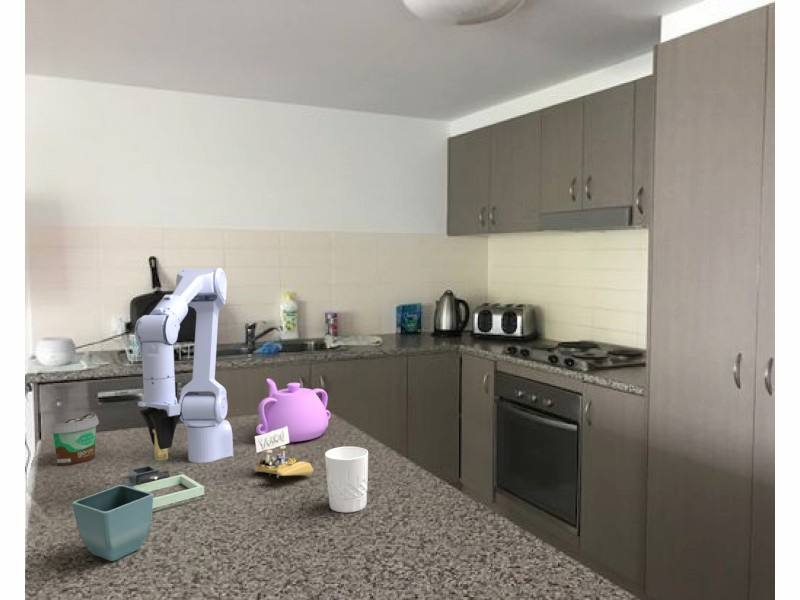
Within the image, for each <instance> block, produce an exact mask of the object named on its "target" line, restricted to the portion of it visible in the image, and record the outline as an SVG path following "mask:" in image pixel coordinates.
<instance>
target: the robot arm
mask: <svg viewBox="0 0 800 600" xmlns="http://www.w3.org/2000/svg"><path fill="white" fill-rule="evenodd" d="M226 277H227V276H226V273H225V271H224V270H223V269H222V268H221V267H216V268H189V269H187V268H181V269H180V270H178V272H177V274H176V280H175V282H176V283H175V284H176V287H175V289H174V290H173V293H171V294H165V295H164V296H163V297H162V299H160V301H159V302H158V303H157V304H156V306H155V307H154V308H153V310H152V311H151V312H150V313H149V314H145V315H142V316H141V317H139V318H138V319H137V321H136V322H135V323H136V324H135V327H134V337H135V340H136V343H137V346H138V353H139V354H140V355H141V361H142V362H141V364H142V382H143V383H142V384H143V385H142V386H143V394H142V395H141V400H140V401H137V406H138V407H142V408H143V407H147V408H145V409H141V410H140V411H139V413H140V415H141V416H142V418H143V420H144V422H145V424H146V426H147V429H148V432H149V435H150V437H149V438H150V439H151V443H152V445H153V446H154V447H155V437H154V433H153V428H154V427H155V431H156V435H157V441H158V446H159V448H160V449H166V448H168V449H169V448H170V449H171V448H172V446H173V440H174V437H175V432H176V431H175V430H176V427H177V425H178V422H179V420H180V421H181V422H182V423H183V426H186V434H187V457H188V461H189V462H190V463H194V464H196V463H197V464H203V463H210V462H215V461H218V460H222V459H224V458H229V457H234V443H233V429H232V425H231V424H230V422H229V421H228V420H227V419H225V418H226V417H227V413H228V399H227V389H226V387H224V386H223V385H222V384H220V383H219V382H218V381H217V380H216V378H215V377H216V365H217V364H216V363H217V359H216V358H217V346H218V344H217V342H218V328H219V327H218V326H219V314H220V313H219V312H220V309H221V308H222V307H225V305H226V301H227V289H228V280H227V278H226ZM189 307H190V308H193V309H194V310H195V312H196V318H195V331H194V333H195V334H194V347H193V348H194V349H193V364H192V377H191V378H192V379H191V380H190V381H189V382H188V383H186V384H185V385H184V386H183V387H182V388H181V389H180V394H179V399H178V398H177V397H176V375H175V374H176V373H175V354H174V344H175V343H176V342H177V340H178V337H179V336H178V335H179V332H180V328H181V325H180V324H181V323H182V321H183V320H184V319H185V317H186V316H187V314H188V312H189ZM204 393H205V394H204ZM211 393H212V394H211ZM213 393H214V394H213Z"/></svg>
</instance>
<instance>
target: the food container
mask: <svg viewBox="0 0 800 600" xmlns="http://www.w3.org/2000/svg"><path fill="white" fill-rule="evenodd" d="M99 424H100V420H99V419H98V416H97V414H96V413H95V412H92V411H85V415H83V416H81V417H78V418H72V419H68V420H67V421H65V422H64V423H52V424H51V428H50V434H53V442H54V448H55V455H56V457H55V458H56V464H57V466H58V467H68V466H69V467H70V466H74V465H78V464H83V463H88V462H91V461H92V460H94V459H95V458H96V437H97V436H96V435H97V433H96V432H97V431H96V430H97V426H98V425H99ZM90 460H91V461H90Z"/></svg>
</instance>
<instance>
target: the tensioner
mask: <svg viewBox="0 0 800 600" xmlns="http://www.w3.org/2000/svg"><path fill="white" fill-rule="evenodd" d="M127 471H128V477H125V478H121V479H120V480H121V481H122V482H123V483H125V484H126V486H128V487H131V488H133V486H136V485H140V484H144V483H149V482H153V481H157V480H161V479H165V478H169V477H171V475H170V473H169V472H170V471H169V470H164V471H163V470H162V471H161V470H159V469H158V468H156V467H154V466H153V465H151V464H149V465H144V466H140V467H135V468H132V469H127Z"/></svg>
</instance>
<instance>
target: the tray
mask: <svg viewBox="0 0 800 600" xmlns="http://www.w3.org/2000/svg"><path fill="white" fill-rule="evenodd" d="M180 484H181V485H183V486H185V487H186V488H187V489H183V490H179V491H175V492H172V493H168V494H165V495H164V494H163V495H160V496H156V497H155V496H154V497H153V509H156V508H159V507H162V506H167V505H170V504H174V503H177V502H180V501H181V503H179V504H175V505H171V506H168V507H164V508H162V509H161V508H160V509H157V510H152V515H153V514H156V513H159V512H163V511H167V510H171V509H174V508H179V507H181V506H186V505H189V504H191V503H196V502H200V501H203V500H206V499H205V497H200V498H197V499H194V500H190V501H187V502H182V501H186V500H188V499H193V498H196V497H199V496H203V495H205V486H204V485H202V484H200V483H199V482H197V481H195V480H193V479H192V478H190V477H189V476H187V475H185V474H184V473H182V474H178V475H174V476H170V477H169V478H165V479H161V480H157V481H153V482H149V483H144V484H140V485H136V486H133V488H134V489H138V490H142V491H145V492H153V491H157V490H161V489H164V488H169V487H172V486H173V487H174V486H177V485H180Z"/></svg>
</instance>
